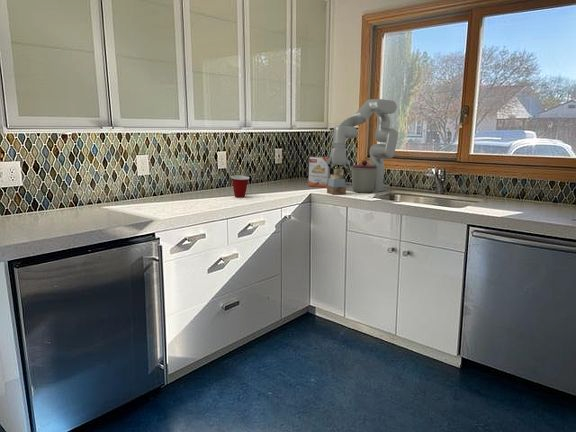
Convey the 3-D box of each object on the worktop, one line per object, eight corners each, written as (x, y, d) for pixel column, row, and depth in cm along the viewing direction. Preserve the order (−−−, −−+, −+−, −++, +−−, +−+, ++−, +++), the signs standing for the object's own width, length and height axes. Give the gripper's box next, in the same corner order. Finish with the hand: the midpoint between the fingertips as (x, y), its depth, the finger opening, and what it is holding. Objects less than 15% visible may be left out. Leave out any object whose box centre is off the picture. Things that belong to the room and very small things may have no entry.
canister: (369, 190, 304) (371, 159, 300) (381, 193, 287) (383, 161, 282) (344, 190, 299) (346, 159, 295) (355, 194, 282) (357, 161, 278)
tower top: (339, 185, 286) (339, 177, 285) (344, 187, 278) (345, 179, 277) (328, 185, 283) (328, 177, 282) (333, 187, 276) (333, 179, 275)
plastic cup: (235, 199, 249) (236, 177, 247) (227, 196, 258) (227, 175, 255) (252, 197, 255) (253, 177, 252) (243, 195, 264) (244, 175, 261)
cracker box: (308, 186, 313) (309, 156, 309) (310, 185, 319) (311, 156, 315) (327, 187, 309) (328, 157, 305) (329, 186, 315) (330, 157, 311)
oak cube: (339, 178, 283) (339, 168, 282) (343, 179, 277) (343, 169, 276) (330, 178, 281) (331, 168, 279) (334, 179, 275) (335, 169, 274)
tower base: (339, 192, 287) (339, 185, 286) (345, 194, 279) (346, 187, 278) (326, 193, 284) (327, 185, 283) (332, 195, 276) (333, 187, 275)
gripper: (348, 146, 281) (346, 173, 285) (323, 145, 275) (322, 173, 279) (354, 146, 274) (352, 174, 278) (328, 146, 268) (327, 175, 272)
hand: (337, 174), depth 278 cm, fingers open, 8 cm apart
